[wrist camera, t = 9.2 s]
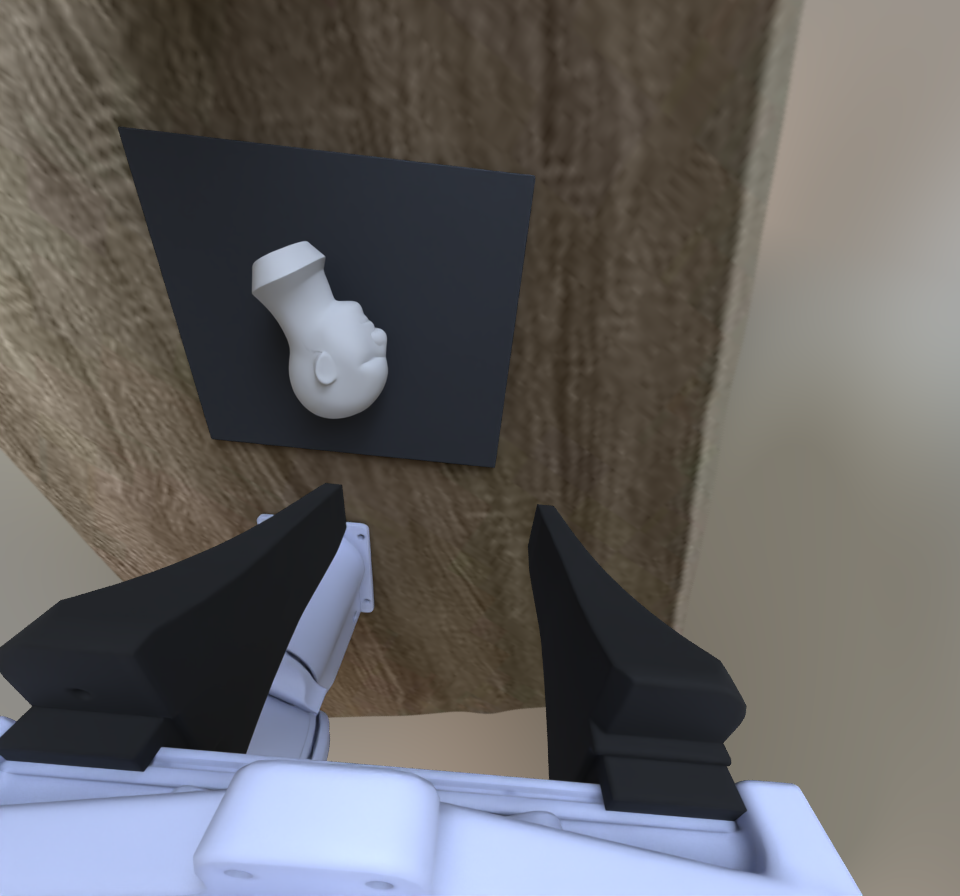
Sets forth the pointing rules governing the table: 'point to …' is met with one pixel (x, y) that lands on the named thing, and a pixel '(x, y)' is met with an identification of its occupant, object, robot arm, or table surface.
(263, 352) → the mat
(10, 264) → the table surface
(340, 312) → the smooth white sculpture
